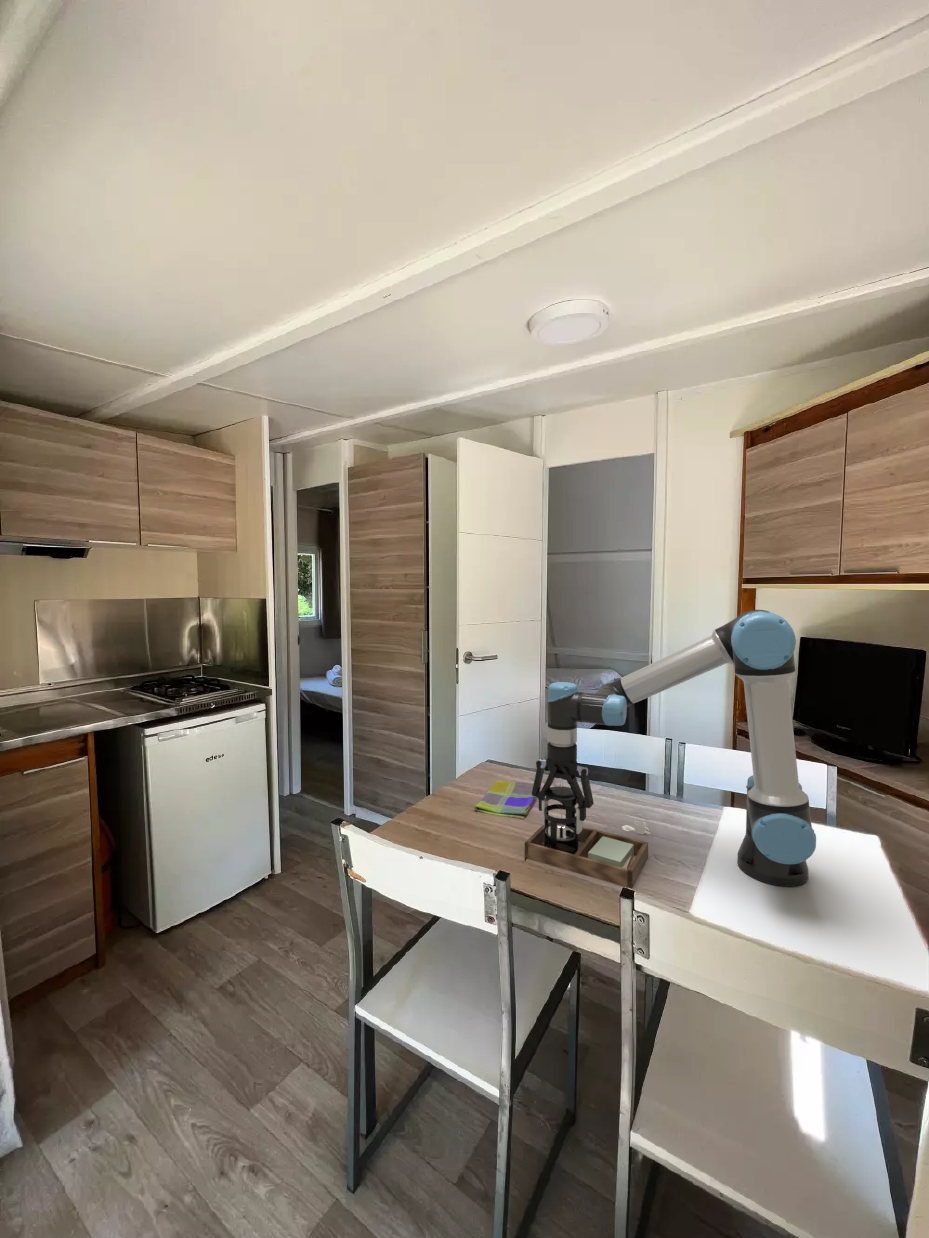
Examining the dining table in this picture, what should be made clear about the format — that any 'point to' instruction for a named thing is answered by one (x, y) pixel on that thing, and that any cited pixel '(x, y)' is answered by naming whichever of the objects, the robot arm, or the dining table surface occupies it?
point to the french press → (561, 832)
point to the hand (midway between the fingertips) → (561, 827)
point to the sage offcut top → (611, 851)
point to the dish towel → (508, 799)
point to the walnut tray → (581, 860)
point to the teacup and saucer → (637, 828)
